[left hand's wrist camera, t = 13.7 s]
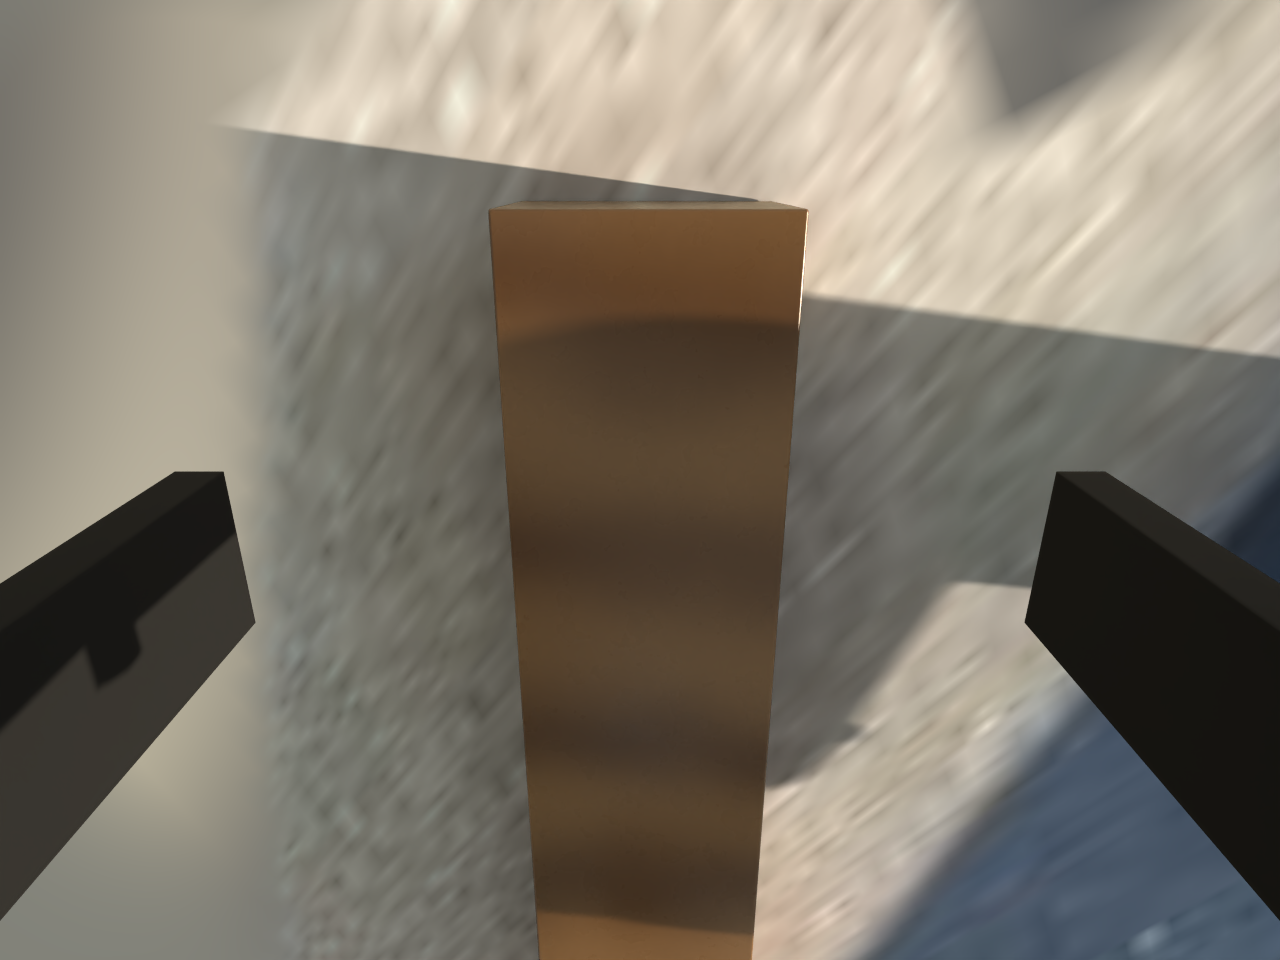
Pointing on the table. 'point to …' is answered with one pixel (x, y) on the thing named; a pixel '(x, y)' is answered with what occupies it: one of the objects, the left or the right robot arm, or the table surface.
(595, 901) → the long beam
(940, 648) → the table surface
